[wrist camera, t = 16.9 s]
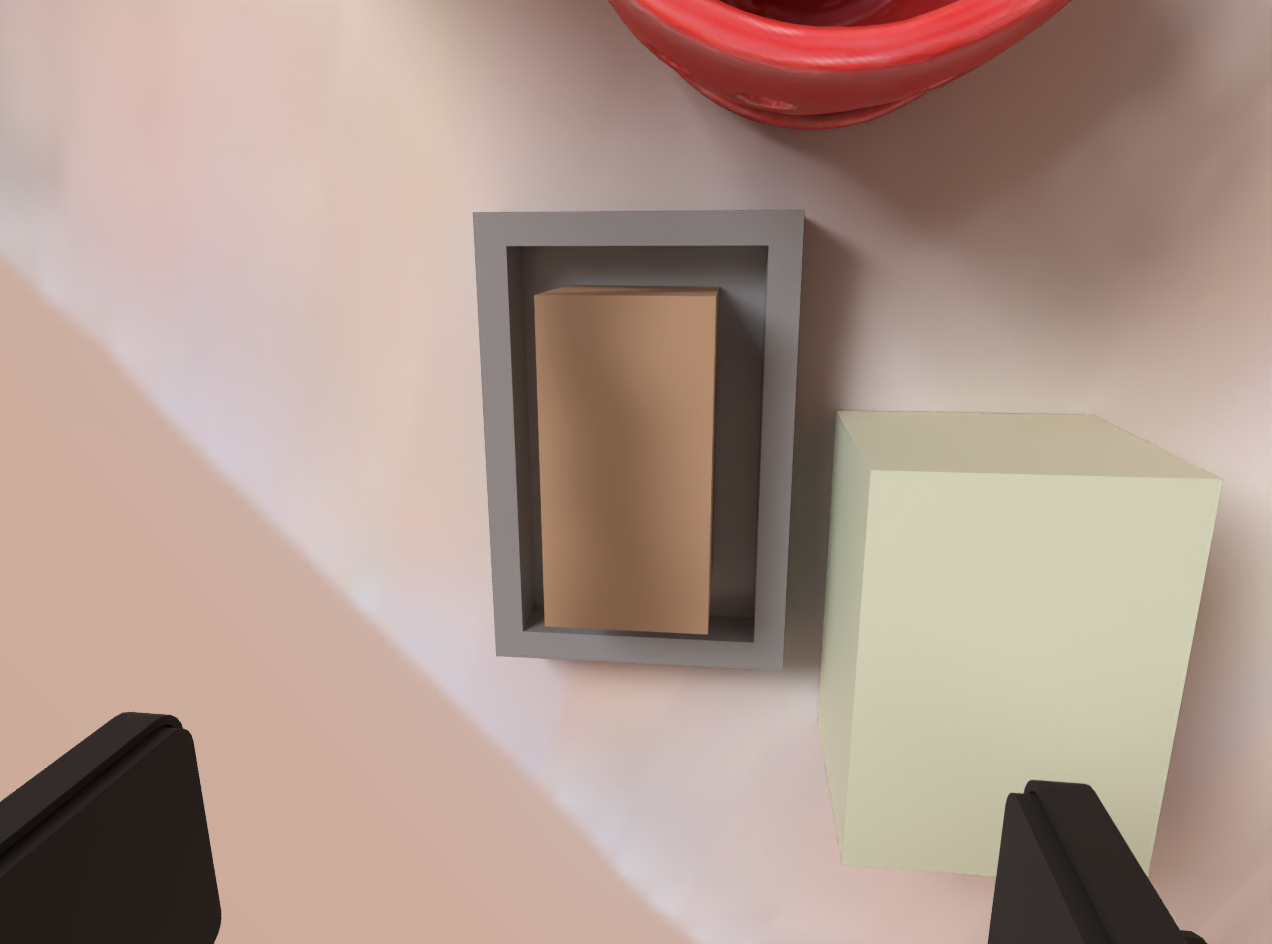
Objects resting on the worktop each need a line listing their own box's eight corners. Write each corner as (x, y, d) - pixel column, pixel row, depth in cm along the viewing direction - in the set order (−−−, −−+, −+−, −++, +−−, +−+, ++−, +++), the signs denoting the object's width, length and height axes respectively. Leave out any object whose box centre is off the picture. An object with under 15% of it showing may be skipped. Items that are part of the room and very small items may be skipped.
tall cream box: (1093, 414, 28) (1223, 479, 21) (1048, 733, 31) (1145, 888, 24) (836, 410, 29) (870, 470, 22) (817, 719, 32) (841, 865, 25)
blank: (719, 285, 28) (715, 296, 23) (711, 571, 30) (707, 634, 25) (568, 285, 28) (534, 295, 23) (574, 565, 31) (545, 626, 26)
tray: (797, 212, 27) (804, 210, 25) (778, 633, 31) (782, 671, 29) (497, 214, 29) (472, 212, 26) (516, 621, 33) (496, 656, 30)
